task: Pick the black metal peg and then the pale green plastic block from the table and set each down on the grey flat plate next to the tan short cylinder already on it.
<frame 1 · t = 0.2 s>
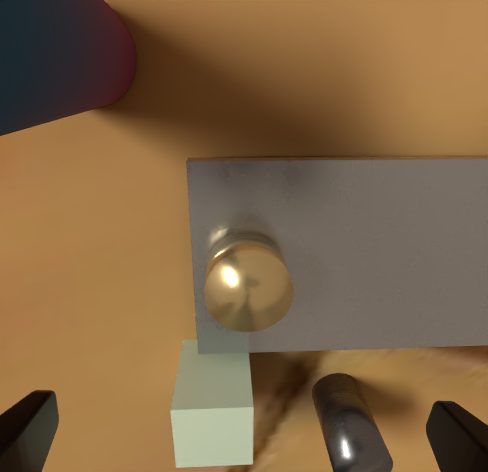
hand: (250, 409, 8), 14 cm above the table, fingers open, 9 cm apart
cup: (88, 55, 18), on the table
grey flat plate: (353, 248, 23), on the table
black peg: (335, 391, 27), on the table
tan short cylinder: (245, 267, 20), point 2 cm above the table, touching grey flat plate
green block: (216, 364, 26), on the table
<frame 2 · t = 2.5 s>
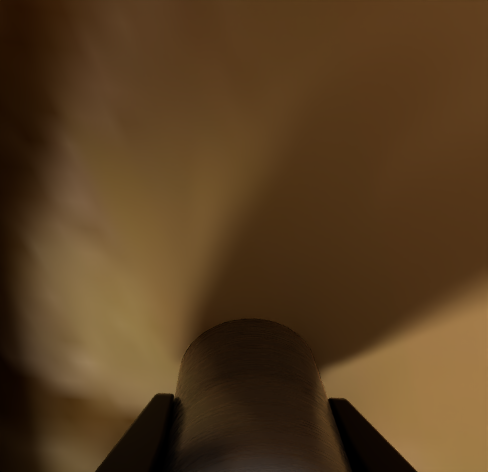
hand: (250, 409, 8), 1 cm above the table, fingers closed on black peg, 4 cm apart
black peg: (248, 376, 9), on the table, touching gripper
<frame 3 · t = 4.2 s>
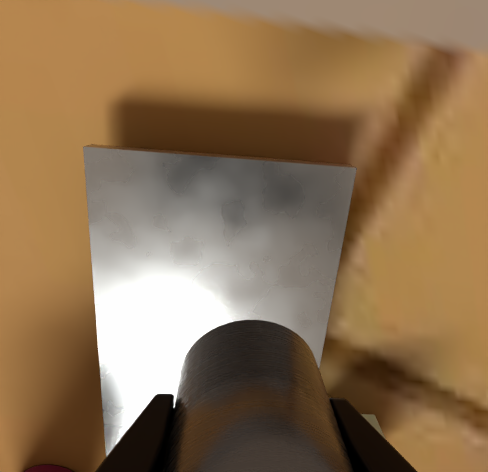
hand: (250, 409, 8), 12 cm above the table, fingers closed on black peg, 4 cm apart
grey flat plate: (214, 321, 21), on the table
black peg: (249, 377, 9), point 11 cm above the table, touching gripper
when the fingers open (5 cm above the table, at t = 5.7 s): black peg drops 1 cm, resting on grey flat plate.
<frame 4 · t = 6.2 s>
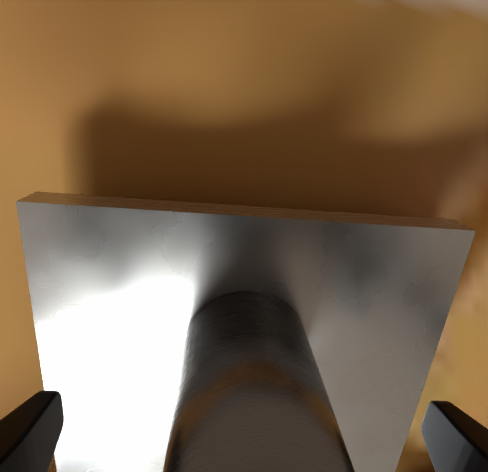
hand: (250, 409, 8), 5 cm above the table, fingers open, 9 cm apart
grey flat plate: (229, 424, 15), on the table
black peg: (245, 343, 11), point 2 cm above the table, touching grey flat plate
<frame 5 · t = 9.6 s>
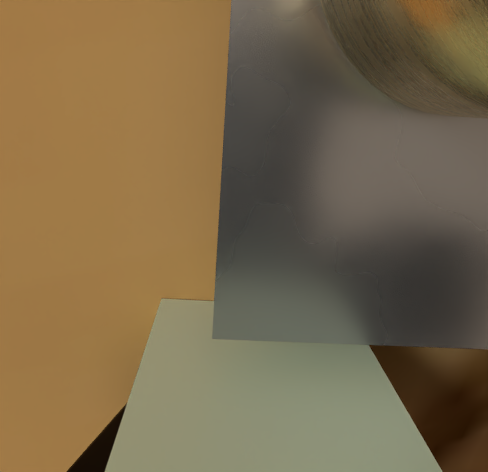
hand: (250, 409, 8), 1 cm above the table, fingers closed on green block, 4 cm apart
green block: (247, 376, 9), on the table, touching gripper
when the fingers open (5 cm above the table, at t = 12.7 s): green block drops 1 cm, resting on grey flat plate.
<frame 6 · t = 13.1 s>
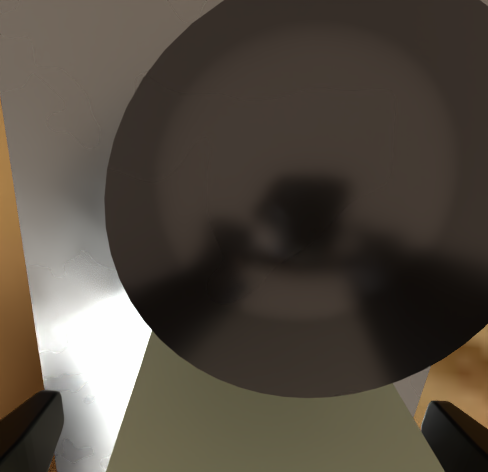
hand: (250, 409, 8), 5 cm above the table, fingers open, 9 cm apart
grey flat plate: (241, 301, 13), on the table
black peg: (267, 136, 8), point 2 cm above the table, touching grey flat plate
green block: (245, 343, 11), point 2 cm above the table, touching grey flat plate
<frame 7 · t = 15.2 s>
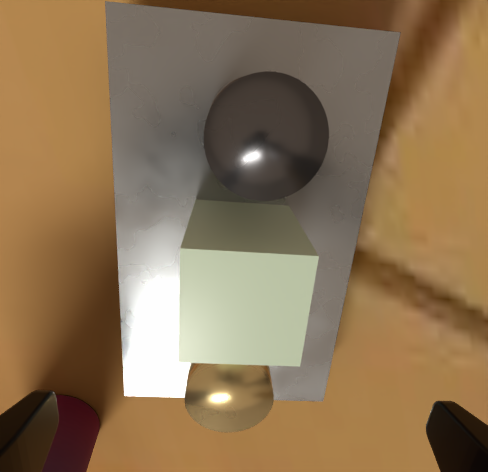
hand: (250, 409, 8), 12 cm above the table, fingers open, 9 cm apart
cup: (64, 419, 25), on the table
grey flat plate: (237, 229, 20), on the table
black peg: (249, 120, 16), point 2 cm above the table, touching grey flat plate
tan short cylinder: (229, 358, 20), point 2 cm above the table, touching grey flat plate
green block: (239, 245, 18), point 2 cm above the table, touching grey flat plate
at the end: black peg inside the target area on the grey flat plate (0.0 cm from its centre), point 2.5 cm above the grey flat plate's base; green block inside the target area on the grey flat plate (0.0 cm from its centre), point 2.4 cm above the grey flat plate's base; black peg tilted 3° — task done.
